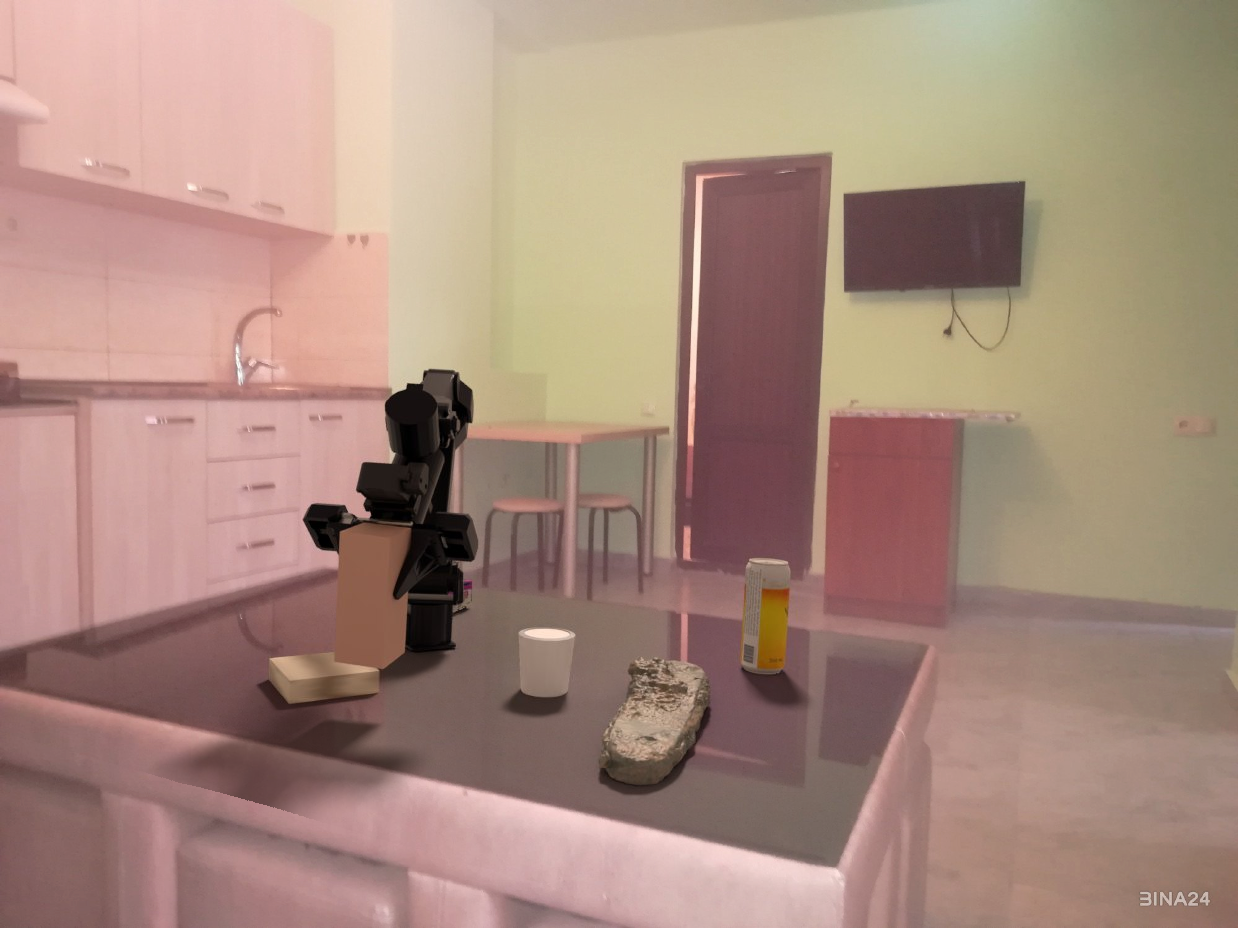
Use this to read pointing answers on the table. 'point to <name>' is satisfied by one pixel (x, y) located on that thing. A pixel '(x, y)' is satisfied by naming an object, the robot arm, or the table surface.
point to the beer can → (765, 615)
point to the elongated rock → (655, 720)
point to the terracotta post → (371, 595)
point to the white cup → (545, 660)
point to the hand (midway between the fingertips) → (368, 595)
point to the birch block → (320, 678)
